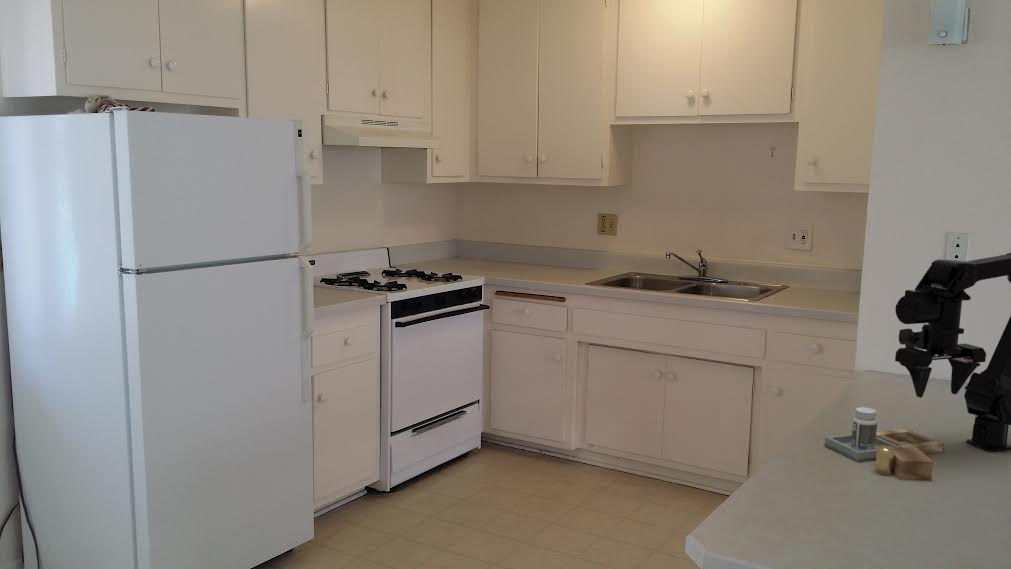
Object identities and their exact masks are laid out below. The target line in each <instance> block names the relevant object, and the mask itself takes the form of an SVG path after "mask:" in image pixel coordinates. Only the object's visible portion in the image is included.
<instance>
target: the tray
mask: <svg viewBox="0 0 1011 569" xmlns="http://www.w3.org/2000/svg"><path fill="white" fill-rule="evenodd" d="M851 438H852V433H851V434H848V433H847V434H842V435H831V436H825V437H824V447H826V448H828V449H830V450H832V451H833V452H836V453H837V454H839V455H842V456H844V457H845V458H846V457H847V458H848V459H850V460H852V461H854V462H857V463H862V462H870V461H871V462H873V461H876V453H877V446H878V445H887V446H891V447H899V446H897V445H895V444H892V443H890V442H888V441H885V440H883V439H881V438H879V437H876V444H875V449H872V450H864V451H858V450H856V449H854V448H852V447H851Z"/></svg>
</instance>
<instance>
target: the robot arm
mask: <svg viewBox="0 0 1011 569" xmlns="http://www.w3.org/2000/svg"><path fill="white" fill-rule="evenodd" d="M1000 277H1007V281H1008V282H1009V283H1010V284H1011V252H1009V253H1005V254H1002V255H996V256H991V257H985V258H978V259H972V260H967V261H966V260H965V261H964V260H953V259H951V260H950V259H935V260H933V261H932V262H931V265H930V266H929V267H928V269H927V270H926V271H925V273H924V274H923V276H922V278H921V279H920V281H919V282H918V284H917V285H916V286H915V288H914V290H913V289H905V291H904V295H903V296H902V297H900V298H899V300H898V301H897V303H896V305H895V310H894V311H895V315H896V318H897V319H898V321H899V322H900V323H902V324H903V325H913V324H918V325H919V324H923V326H922V327H921V331H913V329H911V328H903V329H902V328H901V329H899V332H898V342H899V344H900V345H904V346H905V347H899V348H898V349H897V350H896V351H895V356H894V357H895V358H894V362H897V363H899V364H900V366H903V367H905V368H906V370H907V371H908V373H909V375H910V377H911V381H912V384H913V387H914V388H913V389H914V391H915V392H914V393H915V395H916V397H917V398H920V399H922V398H923V396H924V394H925V391H926V389H927V386H928V382H929V379H930V375H931V373H932V369H933V368H932V367H930V365H931V364H932V363H933V362H932V361H939V360H940V361H941V360H947V361H948V363H949V365H950V366H951V376H950V378H951V379H950V380H951V381H950V393H951V395H957V394H958V393H959V392H960V390H961V389H962V387H963V386H964V384H965V383H966V381H967V380H968V379H969V380H968V383H967V385H966V386H964V390H965V393H964V397H963V399H964V400H965V404H966V405H965V406H966V411H967V413H968V414H969V415H973V416H975V417H974V423H973V426H972V433H971V438H969V439H966V443H968V444H971V445H973V446H975V447H978V448H981V449H983V450H986V451H988V452H996V451H997V452H998V451H1004V450H1011V445H1010V444H1008V434H1009V426H1011V315H1009V319H1008V320H1007V323H1006V325H1005V328H1004V329H1003V332H1002V334H1001V336H1000V338H999V340H998V342H997V345H996V346H995V348H994V351H993V354H992V356H991V358H990V360H989V362H988V364H987V366H986V369H984V370H982V371H981V372H980V373H978V372H975V370H976V369H977V368H978V367H980V366H981V363H986V358H987V352H986V350H985V349H984V348H983V347H980V346H977V345H973V344H972V345H971V344H968V343H959V335H962V334H964V333H965V332H964V331H965V328H962V327H960V326H961V324H960V323H961V317H962V315H961V314H962V306H963V301H971V298H972V297H971V296H970V295H969V294H968V293H967V292H966V290H967V289H970V288H971V287H974V286H975V284H976V283H977V282H980V281H984V280H985V281H986V280H991V279H996V278H1000ZM969 377H970V378H969Z"/></svg>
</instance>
